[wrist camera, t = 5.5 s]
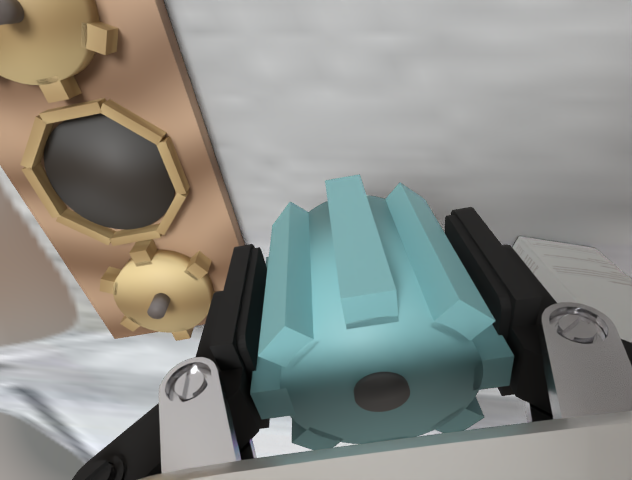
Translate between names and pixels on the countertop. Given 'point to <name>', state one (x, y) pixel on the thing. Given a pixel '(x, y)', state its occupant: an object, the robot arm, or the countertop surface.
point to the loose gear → (371, 323)
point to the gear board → (115, 158)
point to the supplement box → (580, 278)
